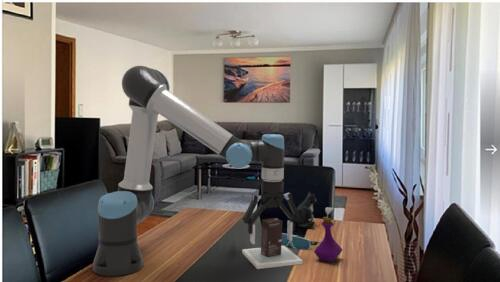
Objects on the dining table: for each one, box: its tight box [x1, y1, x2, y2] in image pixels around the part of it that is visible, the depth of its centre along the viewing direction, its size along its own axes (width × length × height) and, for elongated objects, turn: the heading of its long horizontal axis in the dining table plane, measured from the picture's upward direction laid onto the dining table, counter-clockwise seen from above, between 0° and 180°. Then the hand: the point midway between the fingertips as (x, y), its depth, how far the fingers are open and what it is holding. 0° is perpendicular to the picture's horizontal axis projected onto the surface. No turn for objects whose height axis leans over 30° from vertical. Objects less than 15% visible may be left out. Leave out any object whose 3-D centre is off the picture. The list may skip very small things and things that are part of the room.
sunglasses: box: [281, 232, 323, 250], centre depth 160 cm, size 14×15×5 cm
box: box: [260, 217, 284, 257], centre depth 143 cm, size 6×4×12 cm
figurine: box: [296, 191, 317, 230], centre depth 182 cm, size 10×10×15 cm
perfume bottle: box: [313, 206, 343, 264], centre depth 142 cm, size 8×8×18 cm
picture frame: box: [241, 245, 304, 270], centre depth 144 cm, size 16×16×1 cm
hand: (271, 241), depth 143 cm, fingers open, 13 cm apart
